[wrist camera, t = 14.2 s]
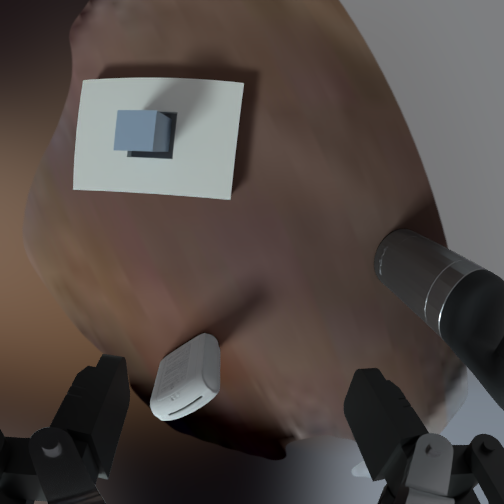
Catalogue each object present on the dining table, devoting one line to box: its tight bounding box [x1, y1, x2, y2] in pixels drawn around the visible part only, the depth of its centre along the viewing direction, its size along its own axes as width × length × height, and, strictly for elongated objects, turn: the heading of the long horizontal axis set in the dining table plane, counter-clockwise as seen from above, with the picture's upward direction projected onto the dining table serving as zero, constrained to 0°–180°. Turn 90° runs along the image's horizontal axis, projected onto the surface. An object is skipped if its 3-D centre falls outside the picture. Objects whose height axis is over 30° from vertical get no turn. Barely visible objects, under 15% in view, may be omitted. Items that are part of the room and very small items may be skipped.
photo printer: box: [150, 333, 220, 421], centre depth 41 cm, size 10×4×12 cm, turn 126°
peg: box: [114, 110, 172, 152], centre depth 32 cm, size 4×4×9 cm
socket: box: [73, 78, 244, 200], centre depth 35 cm, size 20×14×3 cm
